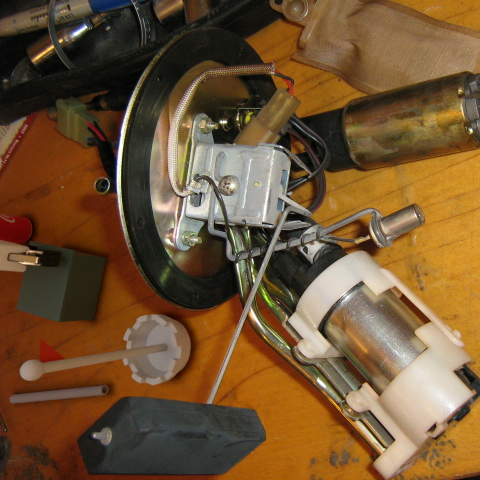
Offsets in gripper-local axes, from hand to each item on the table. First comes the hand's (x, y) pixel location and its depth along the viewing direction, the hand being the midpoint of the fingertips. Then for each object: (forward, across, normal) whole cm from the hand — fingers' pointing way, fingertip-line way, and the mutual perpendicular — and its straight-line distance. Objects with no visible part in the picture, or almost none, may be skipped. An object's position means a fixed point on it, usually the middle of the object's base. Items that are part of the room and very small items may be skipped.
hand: (46, 256), depth 93 cm
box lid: (+1, 0, -5) cm, 5 cm away
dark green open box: (+9, 0, -5) cm, 11 cm away
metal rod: (+9, +1, -30) cm, 31 cm away
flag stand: (+9, +27, -13) cm, 31 cm away
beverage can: (+9, -20, +4) cm, 23 cm away
